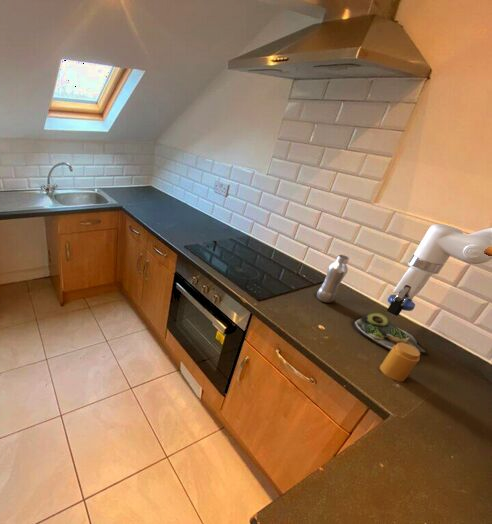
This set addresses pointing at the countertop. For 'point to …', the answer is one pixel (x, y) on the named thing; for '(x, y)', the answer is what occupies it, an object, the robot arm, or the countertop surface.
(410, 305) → the lid
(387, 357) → the jar
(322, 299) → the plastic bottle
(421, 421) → the countertop surface
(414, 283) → the robot arm
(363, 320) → the salad plate
